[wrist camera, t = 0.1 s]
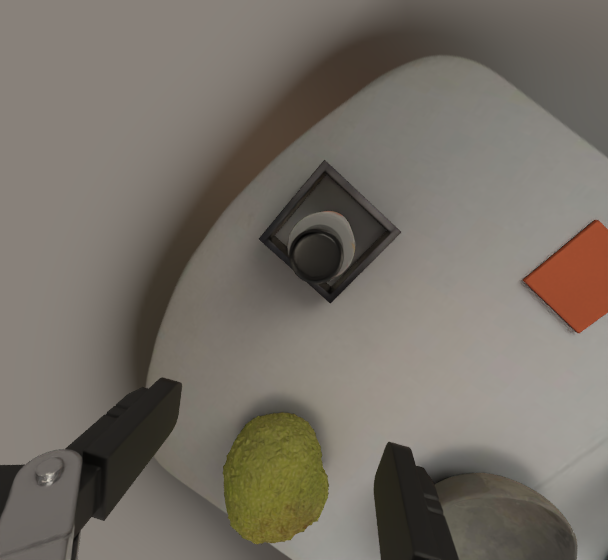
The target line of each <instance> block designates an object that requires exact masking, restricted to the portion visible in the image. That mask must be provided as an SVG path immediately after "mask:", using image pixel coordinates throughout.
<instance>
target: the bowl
mask: <svg viewBox="0 0 608 560" xmlns="http://www.w3.org/2000/svg"><path fill="white" fill-rule="evenodd" d="M435 488H436V491H437V494H438V497H439V502H440V503H441V506H442V509H443V515H444V516H445V518H446V521H447V524H448V527H449V530H450V533H451V536H452V539H453V542H454V545H455V548H456V551H457V554H458V557H459V560H576V559H577V540H576V536H575V534H574V532H573V530H572V528H571V526H570V524H569V523H568V521H567V520H566V518H565V517H564V516H563V514H562V513H561V512H560V511H559V510H558V509H557V508H556V507H555V506H554V505H553V504H552V503H551V502H550V501H548V500H547V499H546V498H545V497H543V496H542V495H540V494H539V493H537V492H536V491H534V490H532V489H530V488H528V487H527V486H525V485H523V484H521V483H519V482H516V481H514V480H511V479H508V478H505V477H502V476H498V475H493V474H488V473H468V474H461V475H456V476H452V477H449V478H447V479H444V480H442V481H440V482H438V483H436V484H435Z"/></svg>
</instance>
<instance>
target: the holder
mask: <svg viewBox="0 0 608 560" xmlns="http://www.w3.org/2000/svg"><path fill="white" fill-rule="evenodd" d="M326 174H327V175H328V176H329V177H330V178H331V179H332V180H334V181H335V182H336V183H337V184H338V185H339V186H340V187H341V188H342V189H343V190H344V191H345V192H346V193H347V194H348V195H350V196H351V197H352V198H353V199H354V200H355V201H356V202H357V203H358V204H359V205H360V206H361V207H362V208H363V209H364V210H366V211H367V212H368V213H369V214H370V215H371V216H372V217H373V218H374V219H375V220H376V221H377V222H378V223H379V224H380V225H382V226H383V227H384V228H385V229H386V231H385V232H384V233H383V234H382V235H381V236H380V237H379V238H378V239H377V240H376V241H375V242H374V243H373V245H372V246H371V247H370V248H369V249H368V250H367V251H366V252H365V253H364V254H363V255H362V256H361V257H360V258H359V259H358V260H357V261H356V262H355V263H354V264H353V265H352V266H351V267H350V268H349V269H348V270H347V271H346V272H345V273H344V274H343V275H342V276H341V277H340V278H339V279H338V280H337V281H336V282H335V283H334V285H333V286H332V287H331V286H330V285H329V284H327V283H326V282H325V283H322V284H311V283H308V284H309V285H310V286H311V287H313V288H314V289H315V290H316V291H317V292H318V293H319V294H320V295H321V296H323V297H324V298H325V299H326V300H327V301H328V302H329V303H331V302H332V301H333V300H334V299H335V298H336V297H337V296H338V295H339V294H340V293H341V292H342V291H343V290H344V289H345V288H346V287H347V286H348V285H349V284H350V283H351V282H352V281H353V280H354V279H355V278H356V277H357V276H358V275H359V274H360V273H361V272H362V271H363V270H364V269H365V268H366V267H367V266H368V265H369V264H370V263H371V262H372V261H373V260H374V259H375V258H376V257H377V256H378V255H379V254H380V253H381V252H382V251H383V250H384V249H385V248H386V247H387V246H388V245H389V244H390V243H391V242H392V241H393V240H394V239H395V238H396V237H397V236H398V235H399V234H400V233H401V231H400V230H399V229H398V228H396V227H395V226H394V225H393V224H392V223H391V222H390V221H389V220H388V219H387V218H386V217H385V216H384V215H383V214H382V213H381V212H379V211H378V210H377V209H376V208H375V207H374V206H373V205H372V204H371V203H370V202H369V201H368V200H367V199H366V198H365V197H364V196H362V195H361V194H360V193H359V192H358V191H357V190H356V189H355V188H354V187H353V186H352V185H351V184H350V183H349V182H348V181H347V180H345V179H344V178H343V177H342V176H341V175H340V174H339V173H338V172H337V171H336V170H335V169H334V168H333V167H332V166H331V165H329V164H328V163H327V162H326V161H325V160H324V161H323V162H322V163H321V165H320V166H319V167H318V168H317V169H316V171H315V172H314V173H313V174H312V175H311V177H310V178H309V179H308V180H307V181H306V183H305V184H304V185H303V186H302V187H301V189H300V190H299V191H298V192H297V193H296V195H295V196H294V197H293V198H292V199H291V201H290V202H289V203H288V204H287V205H286V207H285V208H284V209H283V210H282V211H281V213H280V214H279V215H278V216H277V217H276V219H275V220H274V221H273V222H272V223H271V225H270V226H269V227H268V228H267V229H266V231H265V232H264V233H263V234H262V235H261V237H260V238H259V240H260V241H261V242H262V243H264V244H265V245H266V246H267V247H268V248H269V249H270V250H271V251H273V252H274V253H275V254H276V255H277V256H278V257H279V258H280V259H281V260H283V261H284V262H285V263H286V264H287V265H288V266H289V267H290V268H291V269H292V267H291V264H290V260H289V254H288V247H287V246H285V245H284V244H283V243H282V242H281V241H280V240H279V239H278V238H277V237H275V235H276V233H277V232H278V231H279V230H280V229H281V228H282V226H283V225H284V224H285V223H286V222H287V220H288V219H289V218H290V217H291V216H292V215H293V213H294V212H295V211H296V210H297V209H298V208H299V206H300V205H301V204H302V203H303V202H304V200H305V199H306V198H307V197H308V196H309V195H310V193H311V192H312V191H313V190H314V189H315V187H316V186H317V185H318V184H319V183H320V182H321V180H322V179H323V178H324V177H325V176H326Z"/></svg>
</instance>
